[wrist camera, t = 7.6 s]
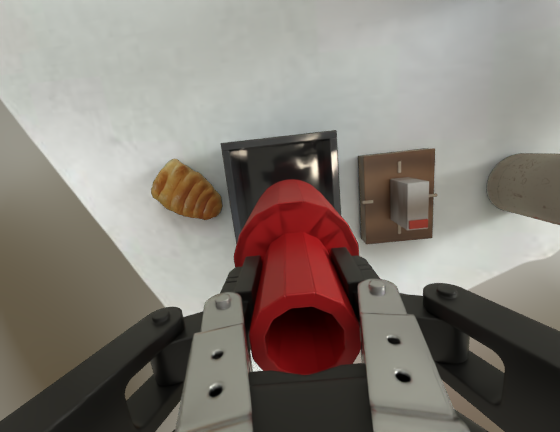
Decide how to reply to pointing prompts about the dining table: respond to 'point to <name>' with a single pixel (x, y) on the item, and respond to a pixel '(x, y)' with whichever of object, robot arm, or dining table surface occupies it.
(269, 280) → the bottle
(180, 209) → the pastry
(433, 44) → the dining table surface
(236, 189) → the dark grey storage bin
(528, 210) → the thermos bottle
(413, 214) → the grey switch handle
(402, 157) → the brown switch base plate
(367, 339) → the robot arm
